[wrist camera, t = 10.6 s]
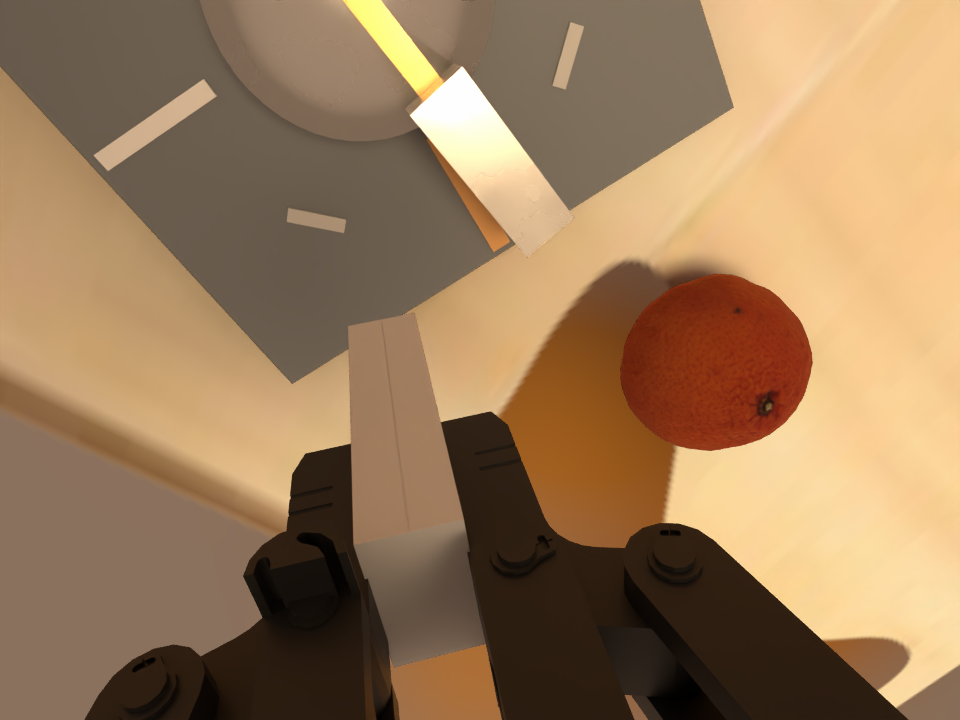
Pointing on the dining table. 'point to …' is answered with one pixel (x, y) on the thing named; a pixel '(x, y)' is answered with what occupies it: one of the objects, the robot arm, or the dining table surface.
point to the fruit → (715, 363)
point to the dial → (390, 88)
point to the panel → (348, 150)
